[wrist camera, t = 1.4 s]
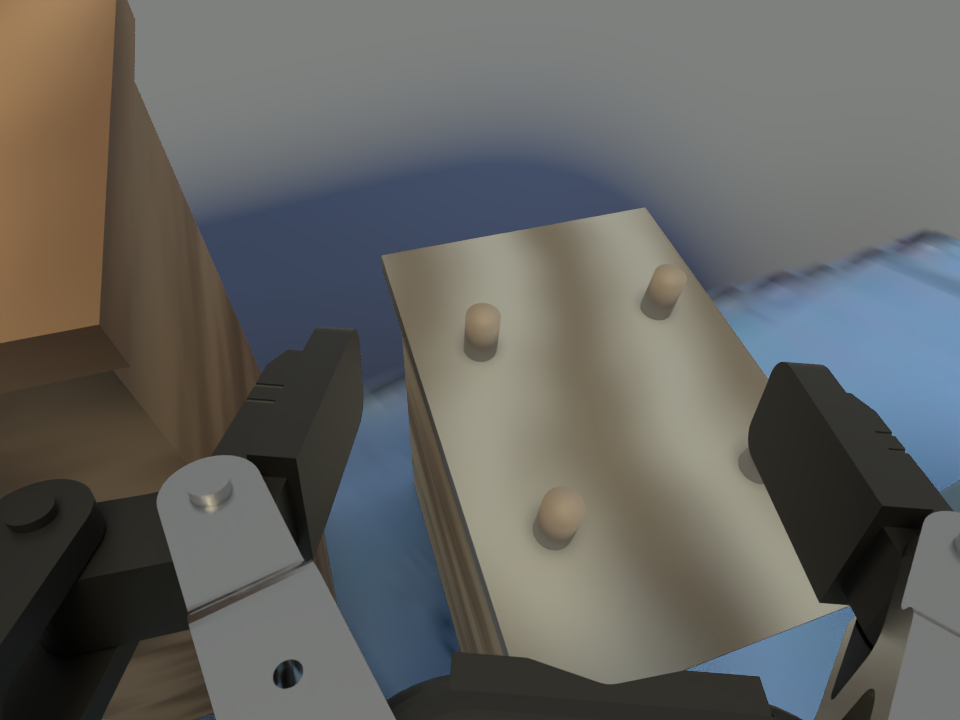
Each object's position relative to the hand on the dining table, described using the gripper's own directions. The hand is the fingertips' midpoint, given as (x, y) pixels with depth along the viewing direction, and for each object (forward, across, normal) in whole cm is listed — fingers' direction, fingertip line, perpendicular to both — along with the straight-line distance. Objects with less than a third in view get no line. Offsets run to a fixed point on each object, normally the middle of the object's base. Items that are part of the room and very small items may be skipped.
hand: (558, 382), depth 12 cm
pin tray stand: (+14, -2, +26) cm, 29 cm away
